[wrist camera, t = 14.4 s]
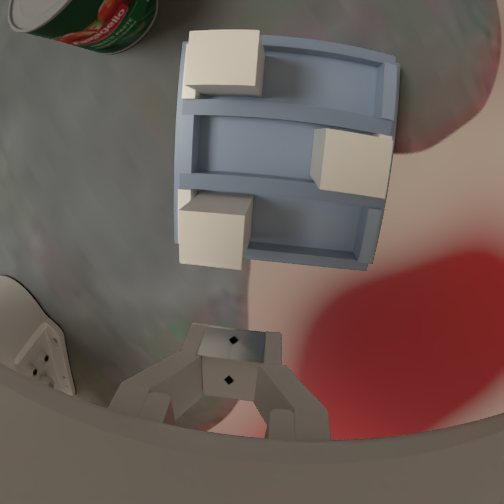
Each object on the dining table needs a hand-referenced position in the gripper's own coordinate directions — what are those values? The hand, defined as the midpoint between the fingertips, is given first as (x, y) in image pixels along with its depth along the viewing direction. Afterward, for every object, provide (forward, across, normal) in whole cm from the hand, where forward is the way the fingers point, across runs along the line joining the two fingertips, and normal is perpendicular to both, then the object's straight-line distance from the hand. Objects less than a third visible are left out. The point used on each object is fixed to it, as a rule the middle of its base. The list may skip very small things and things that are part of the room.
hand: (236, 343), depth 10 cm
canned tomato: (+17, +14, -18) cm, 28 cm away
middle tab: (+15, -5, -6) cm, 17 cm away
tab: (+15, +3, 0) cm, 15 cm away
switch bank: (+16, -2, -6) cm, 17 cm away
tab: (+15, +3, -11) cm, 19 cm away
